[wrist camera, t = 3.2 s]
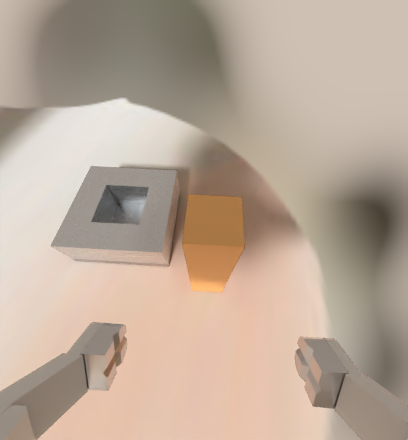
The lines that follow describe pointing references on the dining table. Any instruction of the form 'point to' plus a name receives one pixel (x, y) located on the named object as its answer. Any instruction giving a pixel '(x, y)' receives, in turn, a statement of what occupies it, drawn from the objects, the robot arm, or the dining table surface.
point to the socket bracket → (122, 217)
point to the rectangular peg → (212, 239)
